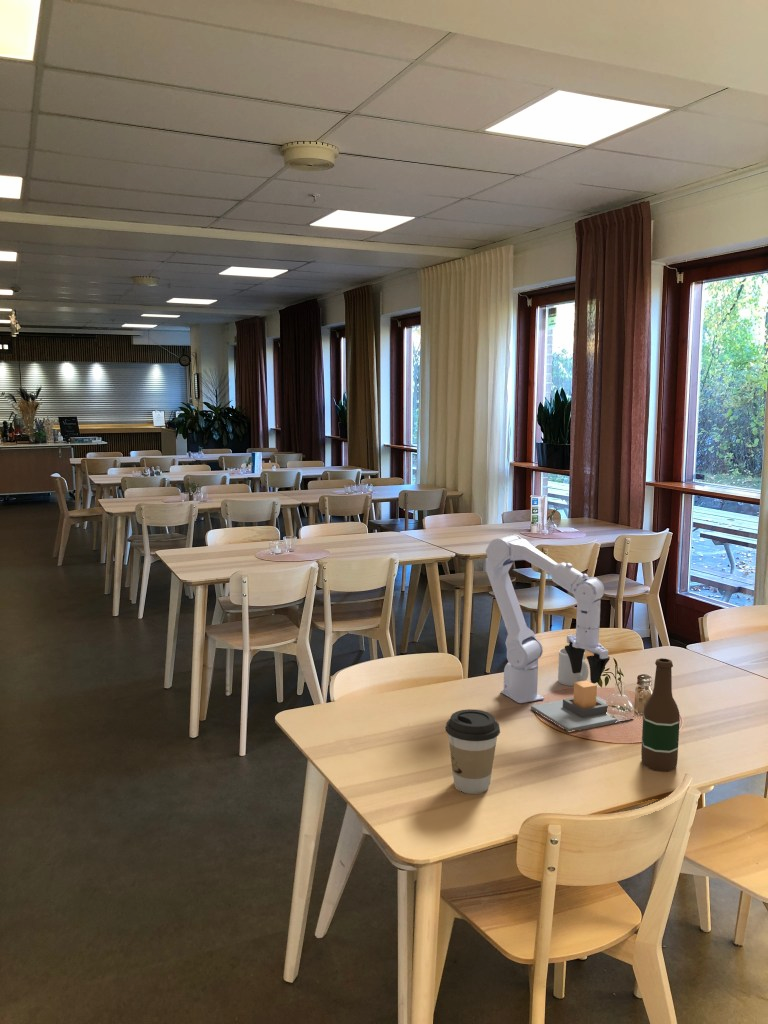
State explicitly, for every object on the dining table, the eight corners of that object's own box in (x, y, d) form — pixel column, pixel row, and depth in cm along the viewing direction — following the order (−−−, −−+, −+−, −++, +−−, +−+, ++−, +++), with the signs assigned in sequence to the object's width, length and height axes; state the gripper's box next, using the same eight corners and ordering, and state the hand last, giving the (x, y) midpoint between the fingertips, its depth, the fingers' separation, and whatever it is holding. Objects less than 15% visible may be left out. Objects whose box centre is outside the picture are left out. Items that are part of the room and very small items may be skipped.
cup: (571, 676, 236) (572, 646, 235) (596, 686, 227) (597, 656, 226) (552, 680, 232) (553, 650, 231) (577, 691, 224) (578, 660, 223)
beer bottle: (672, 775, 175) (678, 668, 171) (636, 766, 179) (641, 662, 175) (680, 761, 181) (686, 658, 178) (645, 753, 185) (650, 652, 182)
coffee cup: (435, 779, 173) (435, 712, 171) (481, 769, 177) (482, 704, 175) (460, 803, 163) (461, 732, 160) (509, 792, 167) (511, 723, 165)
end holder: (531, 709, 211) (531, 698, 211) (593, 697, 219) (593, 687, 219) (568, 732, 197) (568, 720, 196) (633, 719, 205) (634, 708, 204)
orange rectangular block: (573, 708, 209) (574, 682, 208) (585, 706, 211) (586, 680, 210) (583, 714, 205) (584, 687, 204) (595, 711, 207) (596, 685, 206)
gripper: (557, 620, 211) (555, 670, 213) (592, 635, 198) (590, 689, 200) (580, 617, 214) (578, 667, 216) (616, 632, 200) (613, 685, 202)
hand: (585, 677), depth 208 cm, fingers open, 7 cm apart
